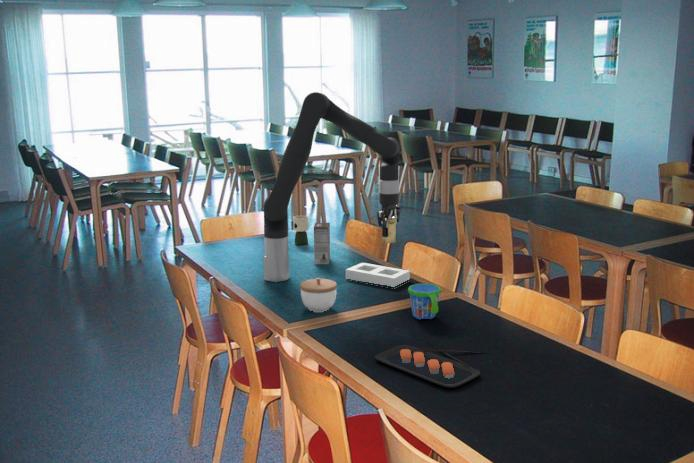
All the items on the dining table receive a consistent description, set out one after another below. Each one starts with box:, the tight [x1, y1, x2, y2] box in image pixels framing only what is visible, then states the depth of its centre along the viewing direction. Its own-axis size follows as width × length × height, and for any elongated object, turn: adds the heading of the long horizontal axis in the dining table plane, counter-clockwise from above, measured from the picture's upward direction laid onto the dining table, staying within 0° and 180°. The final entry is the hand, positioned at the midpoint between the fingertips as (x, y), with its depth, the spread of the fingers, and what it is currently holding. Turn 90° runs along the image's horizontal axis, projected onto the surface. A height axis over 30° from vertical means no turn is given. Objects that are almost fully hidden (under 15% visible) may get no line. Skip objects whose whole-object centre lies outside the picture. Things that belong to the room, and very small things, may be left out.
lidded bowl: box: [299, 277, 338, 313], centre depth 249 cm, size 13×13×11 cm
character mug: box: [292, 215, 310, 245], centre depth 338 cm, size 11×7×13 cm, turn 14°
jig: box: [345, 262, 411, 287], centre depth 283 cm, size 12×22×4 cm, turn 56°
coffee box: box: [313, 222, 331, 265], centre depth 308 cm, size 9×6×16 cm
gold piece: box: [381, 217, 397, 244], centre depth 276 cm, size 6×6×9 cm
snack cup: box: [407, 283, 442, 320], centre depth 241 cm, size 16×10×10 cm
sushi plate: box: [374, 344, 481, 389], centre depth 207 cm, size 29×30×4 cm
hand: (389, 235), depth 277 cm, fingers closed on gold piece, 5 cm apart
